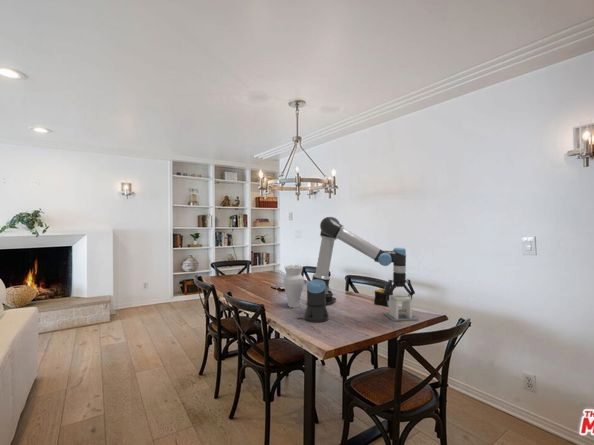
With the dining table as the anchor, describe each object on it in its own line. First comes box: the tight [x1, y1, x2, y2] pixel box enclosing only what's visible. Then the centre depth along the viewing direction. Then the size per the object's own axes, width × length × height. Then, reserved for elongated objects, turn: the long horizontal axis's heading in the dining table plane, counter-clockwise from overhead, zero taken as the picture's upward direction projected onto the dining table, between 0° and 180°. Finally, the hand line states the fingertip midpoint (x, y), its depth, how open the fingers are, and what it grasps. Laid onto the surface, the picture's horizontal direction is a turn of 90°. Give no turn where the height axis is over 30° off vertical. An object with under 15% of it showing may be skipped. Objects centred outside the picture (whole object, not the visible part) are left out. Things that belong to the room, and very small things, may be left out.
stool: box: [388, 294, 413, 319], centre depth 189 cm, size 10×12×10 cm
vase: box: [283, 264, 305, 309], centre depth 215 cm, size 15×15×29 cm
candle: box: [373, 288, 394, 307], centre depth 219 cm, size 10×10×10 cm
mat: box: [382, 311, 419, 323], centre depth 190 cm, size 16×16×1 cm
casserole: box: [326, 289, 337, 305], centre depth 224 cm, size 25×19×8 cm
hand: (399, 305), depth 190 cm, fingers open, 13 cm apart
